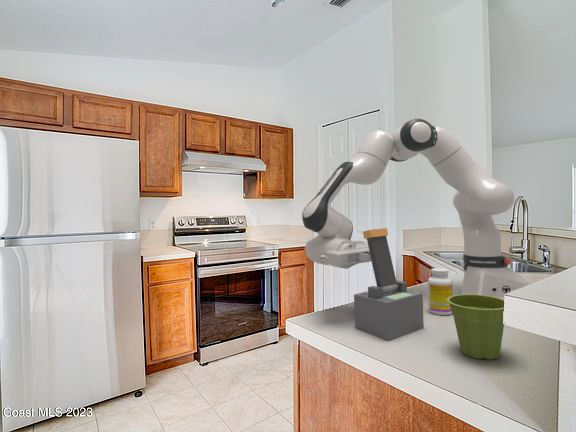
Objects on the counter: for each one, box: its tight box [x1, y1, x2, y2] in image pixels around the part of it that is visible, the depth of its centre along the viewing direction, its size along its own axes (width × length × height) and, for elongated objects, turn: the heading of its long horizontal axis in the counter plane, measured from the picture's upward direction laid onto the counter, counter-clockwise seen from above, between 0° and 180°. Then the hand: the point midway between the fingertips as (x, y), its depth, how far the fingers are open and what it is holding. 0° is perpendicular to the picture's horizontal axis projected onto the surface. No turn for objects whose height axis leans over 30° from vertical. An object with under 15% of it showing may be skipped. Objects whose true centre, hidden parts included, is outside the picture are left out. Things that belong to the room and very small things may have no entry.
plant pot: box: [447, 293, 505, 360], centre depth 70 cm, size 12×12×11 cm
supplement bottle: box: [427, 267, 454, 316], centre depth 97 cm, size 7×7×13 cm
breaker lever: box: [362, 228, 398, 294], centre depth 88 cm, size 3×7×17 cm, turn 123°
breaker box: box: [353, 279, 425, 342], centre depth 86 cm, size 11×14×12 cm
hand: (378, 258), depth 89 cm, fingers closed, pressing on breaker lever
